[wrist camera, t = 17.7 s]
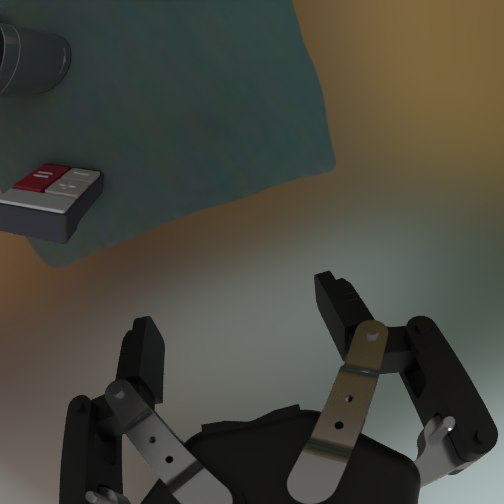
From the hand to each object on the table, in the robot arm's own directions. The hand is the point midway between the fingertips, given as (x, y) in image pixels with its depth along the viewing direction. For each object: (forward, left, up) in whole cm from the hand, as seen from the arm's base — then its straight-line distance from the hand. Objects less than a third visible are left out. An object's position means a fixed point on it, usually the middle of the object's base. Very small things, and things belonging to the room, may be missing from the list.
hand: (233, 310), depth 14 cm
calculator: (-21, -6, -32) cm, 39 cm away
